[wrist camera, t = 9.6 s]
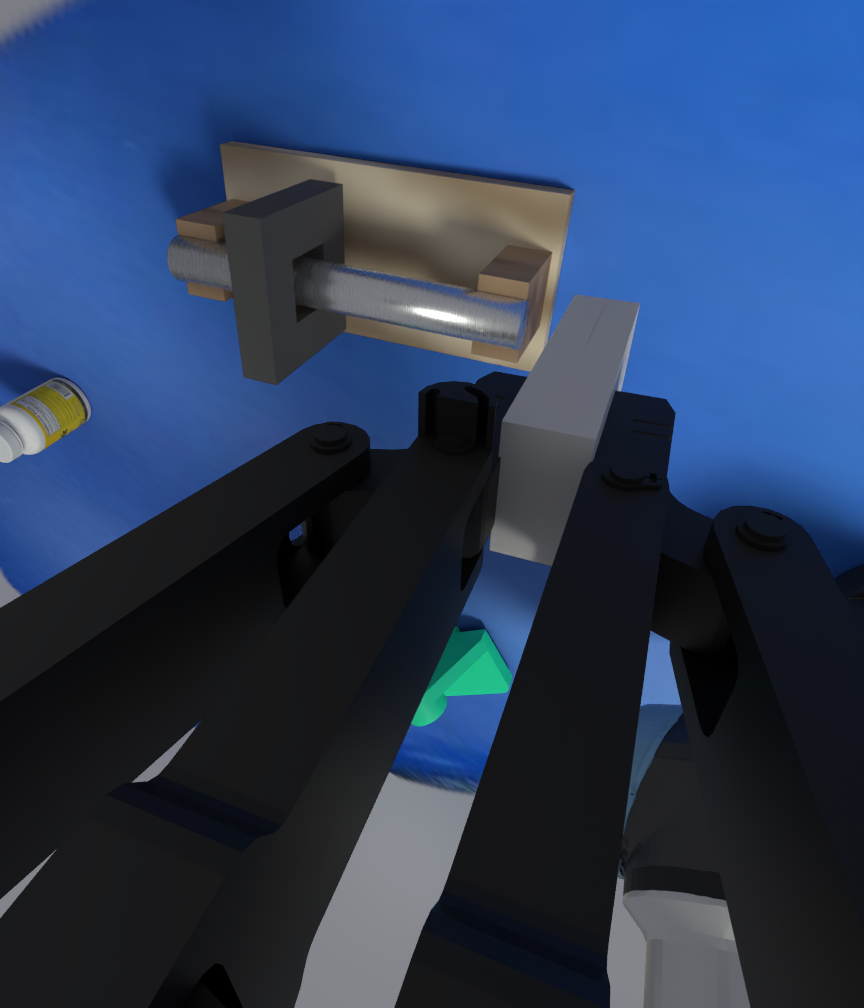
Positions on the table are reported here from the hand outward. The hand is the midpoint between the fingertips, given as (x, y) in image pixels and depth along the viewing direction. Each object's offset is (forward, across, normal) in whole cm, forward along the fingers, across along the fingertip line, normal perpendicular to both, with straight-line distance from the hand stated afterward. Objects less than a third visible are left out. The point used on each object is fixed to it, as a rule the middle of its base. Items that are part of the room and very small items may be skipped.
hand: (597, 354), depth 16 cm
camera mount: (+30, +12, +49) cm, 59 cm away
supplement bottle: (+30, +56, +26) cm, 69 cm away
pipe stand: (+29, +18, +7) cm, 35 cm away
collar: (+26, +22, +7) cm, 35 cm away
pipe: (+23, +18, +7) cm, 30 cm away
